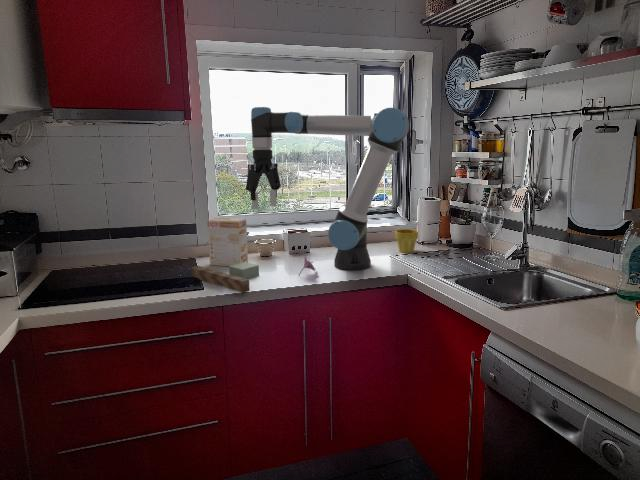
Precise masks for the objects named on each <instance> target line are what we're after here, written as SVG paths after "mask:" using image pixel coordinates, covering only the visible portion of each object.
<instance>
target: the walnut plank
mask: <svg viewBox="0 0 640 480" xmlns="http://www.w3.org/2000/svg"><path fill="white" fill-rule="evenodd" d="M190 272H191V273H190V274H191V278H192V277H196V278H199V279H201V280H200V281H203V282H207V283H208V284H213V285H216V286H219V287H223V288H226V289H230V290H232V291H233V290H234V291H235V292H238V293H239V292H240V293H246V292H249V291H251V290H250V279H246V278H242V277H238V276H234V275H231V274H229V273H226V272H222V271H218V270H215V269H212V268H207V267H204V266H200V265H194V266H192V267H190ZM199 279H198V280H199Z"/></svg>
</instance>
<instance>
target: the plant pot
mask: <svg viewBox="0 0 640 480" xmlns="http://www.w3.org/2000/svg"><path fill="white" fill-rule="evenodd" d="M394 234H395V239H396V242H397V247H398V252H400V253H402V254H403V253H404V254H410V253H413V252H414V250H415V246H416V242H417V240H418V238H419V230H417V229H410V228H403V229H396V230H395V231H394Z"/></svg>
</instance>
